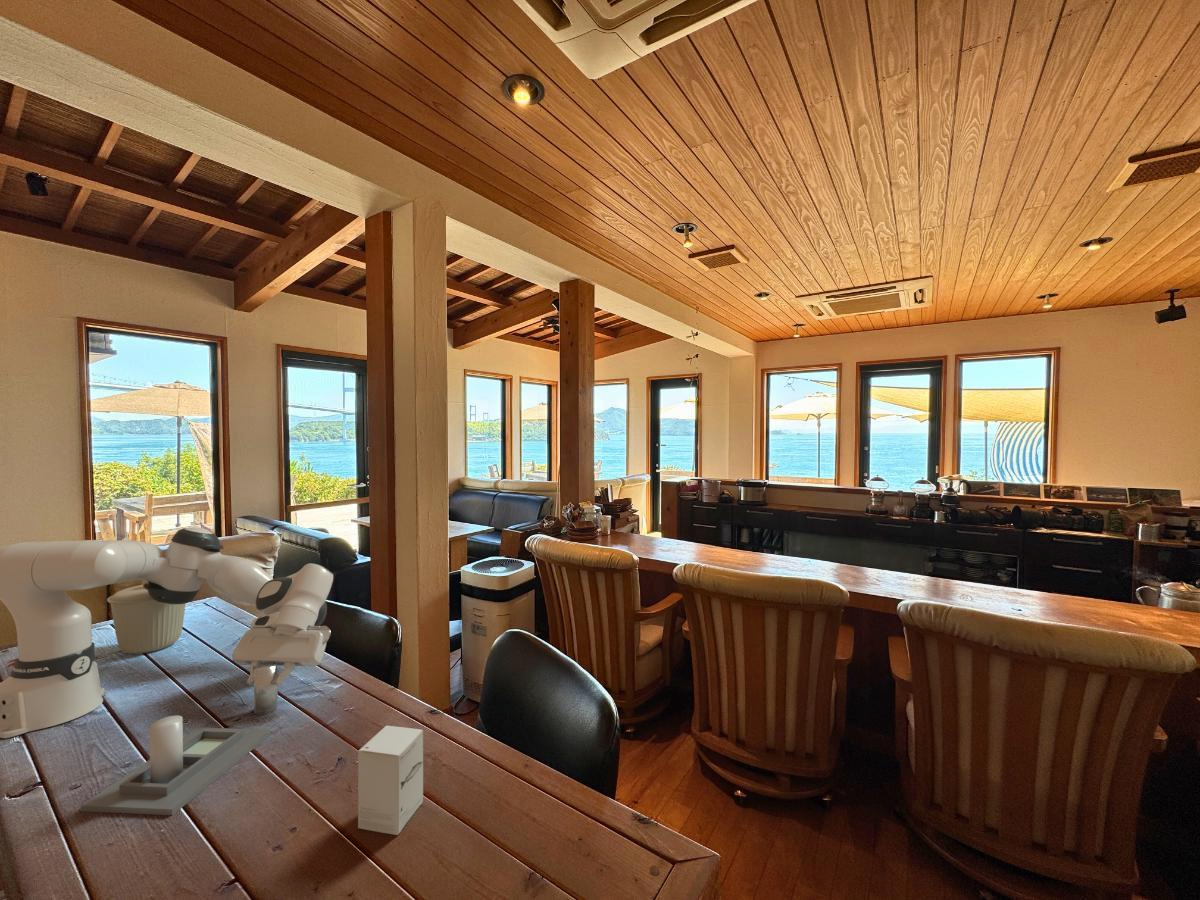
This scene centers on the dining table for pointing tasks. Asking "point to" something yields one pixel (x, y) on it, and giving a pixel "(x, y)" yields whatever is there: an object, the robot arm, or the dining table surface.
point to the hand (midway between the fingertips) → (263, 684)
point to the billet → (265, 688)
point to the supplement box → (390, 779)
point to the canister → (144, 621)
